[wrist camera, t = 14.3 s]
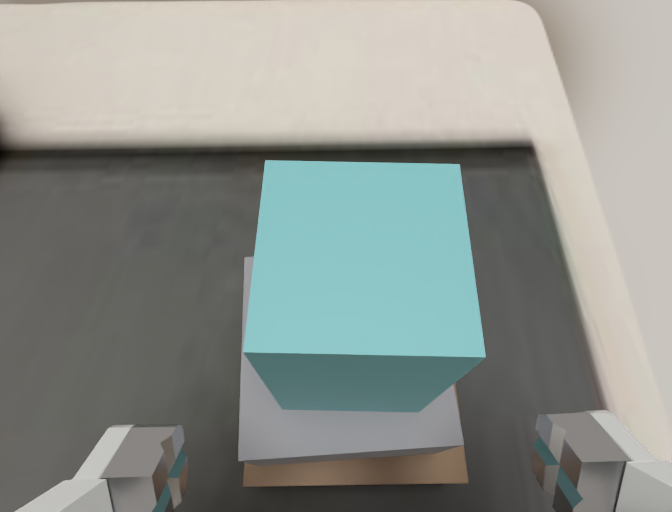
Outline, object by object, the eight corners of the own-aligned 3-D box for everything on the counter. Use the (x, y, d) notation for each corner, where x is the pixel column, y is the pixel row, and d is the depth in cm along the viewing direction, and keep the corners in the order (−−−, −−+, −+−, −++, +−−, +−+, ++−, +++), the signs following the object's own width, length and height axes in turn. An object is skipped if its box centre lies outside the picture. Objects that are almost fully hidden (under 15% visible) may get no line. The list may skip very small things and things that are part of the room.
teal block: (282, 409, 16) (242, 352, 9) (291, 284, 19) (265, 160, 11) (418, 412, 16) (485, 357, 9) (410, 286, 18) (459, 164, 11)
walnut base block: (259, 486, 24) (242, 486, 20) (269, 311, 29) (257, 279, 24) (443, 483, 24) (468, 483, 20) (424, 309, 29) (440, 277, 24)
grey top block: (258, 466, 20) (237, 460, 15) (261, 299, 24) (244, 257, 19) (435, 453, 20) (464, 445, 16) (410, 291, 24) (428, 247, 19)
